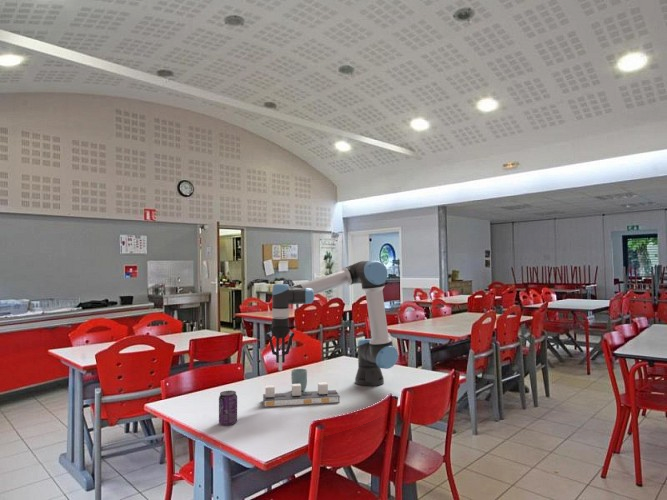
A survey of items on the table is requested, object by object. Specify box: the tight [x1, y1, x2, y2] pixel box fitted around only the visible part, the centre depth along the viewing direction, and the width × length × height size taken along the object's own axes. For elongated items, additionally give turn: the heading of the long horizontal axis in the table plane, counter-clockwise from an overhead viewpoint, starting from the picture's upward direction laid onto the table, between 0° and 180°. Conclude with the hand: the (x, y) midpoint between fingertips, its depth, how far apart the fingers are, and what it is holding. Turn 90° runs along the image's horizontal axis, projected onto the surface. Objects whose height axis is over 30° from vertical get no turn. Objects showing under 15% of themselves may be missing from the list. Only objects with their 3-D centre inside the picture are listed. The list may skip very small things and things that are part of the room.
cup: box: [290, 368, 308, 392], centre depth 224 cm, size 8×8×10 cm
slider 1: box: [264, 384, 276, 397], centre depth 203 cm, size 4×4×4 cm
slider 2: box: [291, 383, 302, 396], centre depth 205 cm, size 4×4×4 cm
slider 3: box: [317, 381, 329, 394], centre depth 207 cm, size 4×4×4 cm
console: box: [262, 389, 340, 408], centre depth 205 cm, size 34×10×3 cm, turn 100°
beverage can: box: [218, 390, 238, 426], centre depth 177 cm, size 7×7×12 cm
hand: (280, 369), depth 204 cm, fingers closed
